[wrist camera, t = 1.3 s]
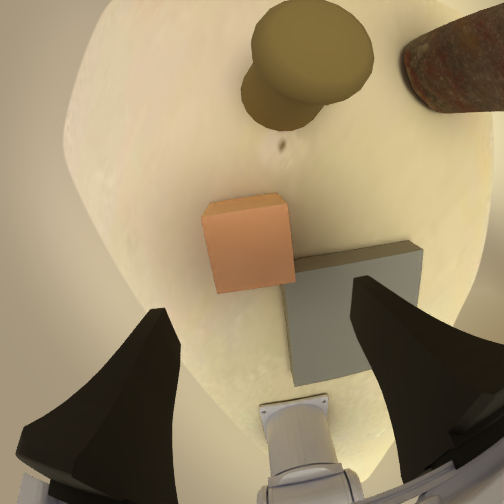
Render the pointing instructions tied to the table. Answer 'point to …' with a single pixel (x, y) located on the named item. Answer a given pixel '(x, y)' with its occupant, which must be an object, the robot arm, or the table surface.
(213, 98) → the table surface
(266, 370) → the table surface
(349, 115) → the table surface
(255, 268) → the terracotta cube
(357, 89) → the cork
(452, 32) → the candle
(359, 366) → the grey square plate
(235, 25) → the table surface
